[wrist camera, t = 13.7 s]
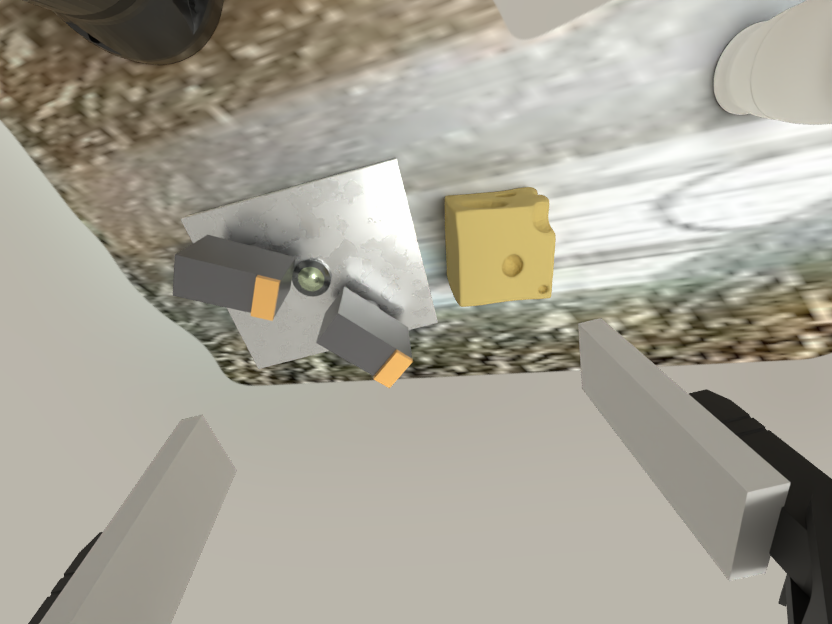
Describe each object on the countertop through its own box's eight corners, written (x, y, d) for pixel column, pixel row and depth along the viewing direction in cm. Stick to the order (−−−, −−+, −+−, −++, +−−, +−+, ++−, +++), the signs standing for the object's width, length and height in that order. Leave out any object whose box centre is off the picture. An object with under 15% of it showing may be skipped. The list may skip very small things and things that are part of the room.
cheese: (528, 184, 45) (564, 199, 36) (523, 272, 50) (554, 304, 41) (438, 192, 44) (453, 209, 35) (442, 280, 49) (456, 314, 40)
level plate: (188, 215, 43) (177, 220, 41) (395, 157, 42) (396, 159, 40) (262, 360, 52) (257, 371, 50) (435, 315, 51) (438, 324, 49)
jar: (809, 82, 42) (1008, 61, 29) (719, 145, 45) (865, 153, 31) (785, -17, 38) (1004, -95, 25) (688, 58, 40) (840, 23, 27)
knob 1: (213, 262, 44) (169, 297, 35) (217, 228, 42) (171, 256, 33) (294, 282, 46) (272, 321, 36) (300, 250, 44) (279, 282, 35)
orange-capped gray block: (328, 303, 47) (314, 345, 38) (346, 278, 46) (337, 316, 37) (388, 340, 50) (389, 388, 41) (406, 318, 49) (412, 361, 40)
